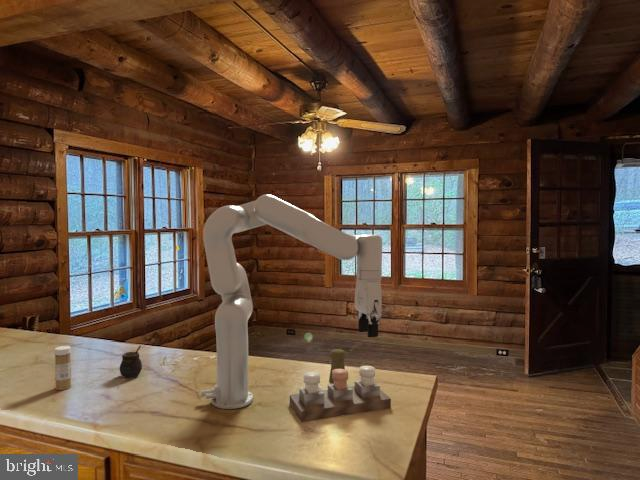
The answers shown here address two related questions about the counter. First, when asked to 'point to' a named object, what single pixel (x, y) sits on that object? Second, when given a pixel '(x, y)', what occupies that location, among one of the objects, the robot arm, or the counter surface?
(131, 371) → the mate gourd
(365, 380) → the button far
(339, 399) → the button board
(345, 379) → the button middle
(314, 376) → the button near
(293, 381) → the counter surface
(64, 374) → the sprinkles bottle
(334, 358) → the cork
